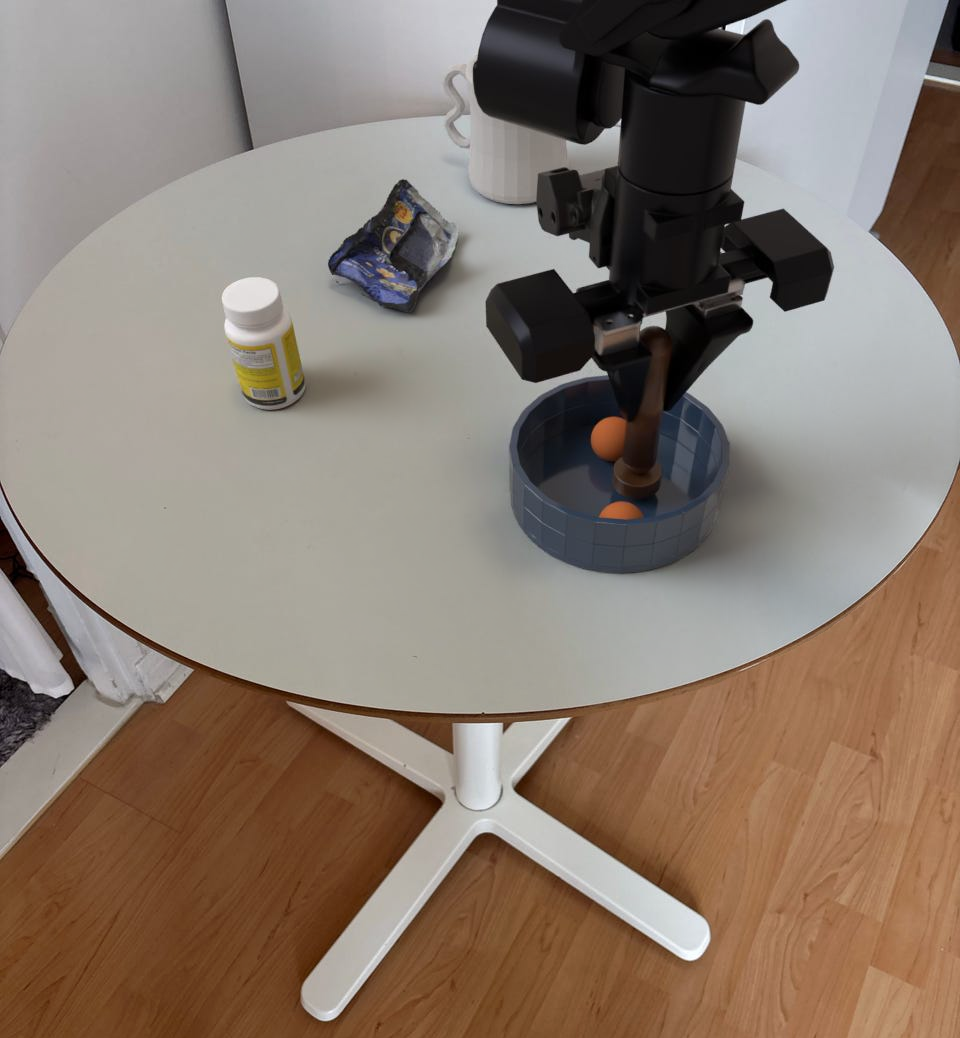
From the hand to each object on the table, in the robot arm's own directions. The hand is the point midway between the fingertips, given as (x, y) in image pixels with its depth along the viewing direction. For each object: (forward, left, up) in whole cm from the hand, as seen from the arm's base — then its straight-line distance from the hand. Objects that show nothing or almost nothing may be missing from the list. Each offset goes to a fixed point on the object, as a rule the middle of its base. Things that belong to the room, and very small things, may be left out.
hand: (645, 412), depth 63 cm
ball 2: (+1, +5, -5) cm, 7 cm away
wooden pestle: (0, 0, -6) cm, 6 cm away
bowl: (+1, 0, -7) cm, 8 cm away
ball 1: (+2, -3, -5) cm, 7 cm away
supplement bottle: (+27, -8, -8) cm, 30 cm away
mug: (+14, -40, -8) cm, 43 cm away
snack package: (+21, -24, -8) cm, 33 cm away
